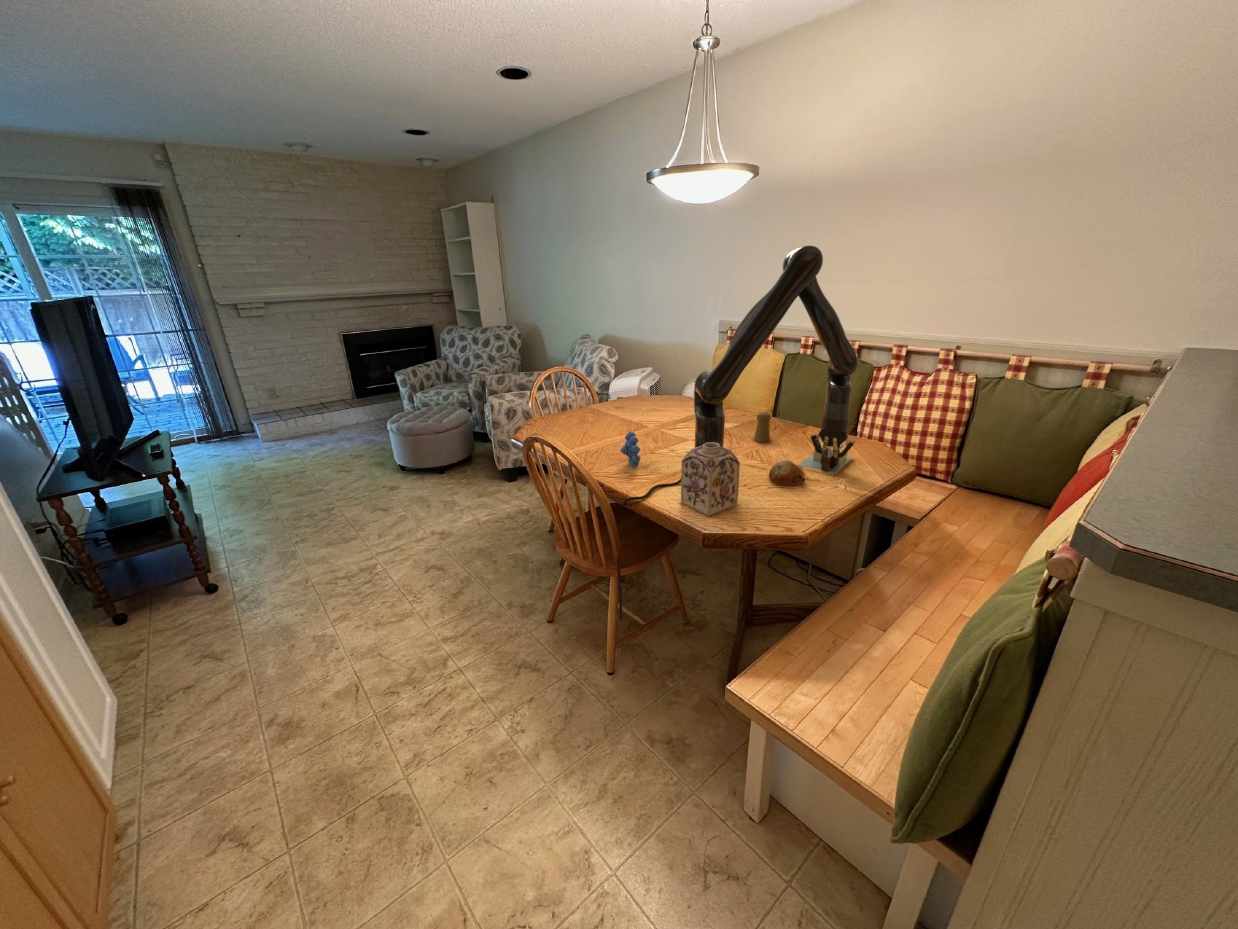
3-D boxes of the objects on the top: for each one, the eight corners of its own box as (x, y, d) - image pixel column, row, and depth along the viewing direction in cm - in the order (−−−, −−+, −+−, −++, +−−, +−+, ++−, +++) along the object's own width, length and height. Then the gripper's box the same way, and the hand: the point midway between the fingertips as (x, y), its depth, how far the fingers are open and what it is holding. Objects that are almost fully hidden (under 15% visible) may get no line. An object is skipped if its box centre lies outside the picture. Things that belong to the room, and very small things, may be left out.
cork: (753, 442, 185) (755, 414, 181) (754, 437, 190) (756, 410, 186) (769, 443, 183) (772, 415, 179) (770, 438, 188) (772, 411, 184)
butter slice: (839, 464, 158) (840, 453, 157) (833, 463, 159) (835, 452, 158) (846, 457, 164) (848, 446, 162) (840, 456, 165) (842, 445, 163)
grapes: (616, 461, 171) (615, 428, 166) (634, 458, 172) (634, 426, 168) (625, 472, 160) (624, 438, 156) (644, 470, 161) (643, 436, 157)
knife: (827, 471, 152) (829, 458, 151) (820, 469, 154) (822, 456, 152) (844, 455, 164) (846, 443, 163) (837, 454, 166) (839, 442, 164)
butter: (822, 461, 161) (823, 450, 160) (812, 459, 163) (814, 448, 162) (830, 454, 167) (831, 443, 165) (821, 452, 169) (822, 442, 167)
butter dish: (835, 476, 152) (836, 473, 151) (798, 468, 159) (798, 465, 159) (852, 459, 164) (853, 457, 164) (817, 452, 172) (817, 450, 171)
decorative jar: (738, 505, 135) (742, 445, 128) (709, 517, 129) (711, 455, 122) (708, 491, 144) (710, 434, 137) (679, 502, 138) (680, 443, 131)
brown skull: (783, 483, 157) (775, 460, 156) (812, 478, 149) (804, 453, 149) (768, 492, 150) (760, 468, 150) (797, 487, 143) (789, 462, 142)
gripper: (809, 414, 151) (803, 465, 157) (855, 421, 143) (847, 475, 149) (817, 409, 156) (811, 458, 163) (863, 416, 148) (854, 467, 154)
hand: (828, 466), depth 156 cm, fingers closed on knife, 2 cm apart
